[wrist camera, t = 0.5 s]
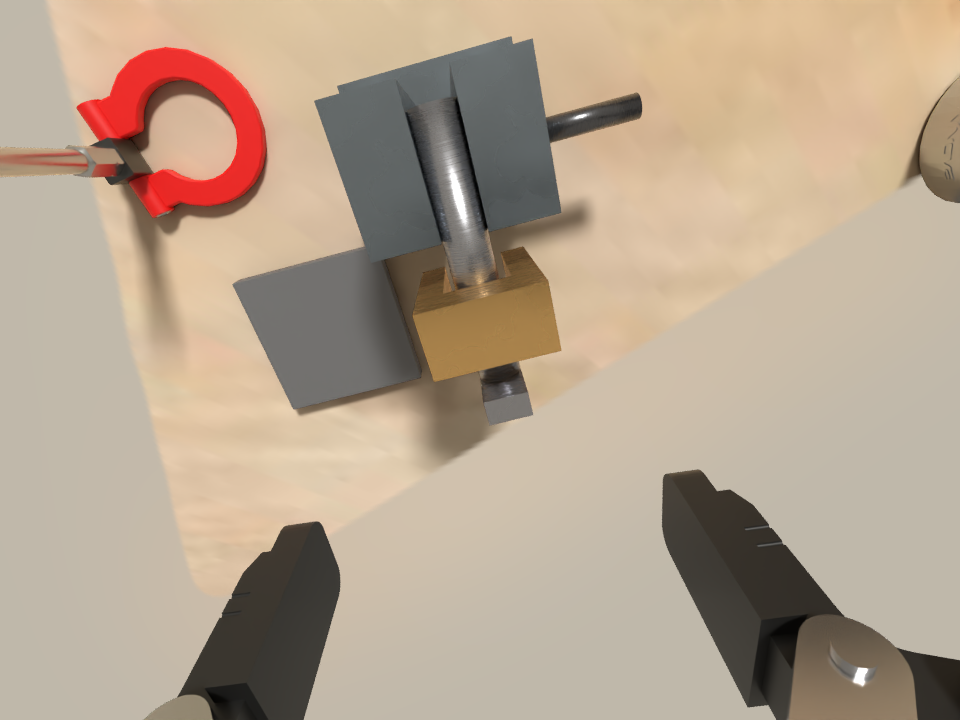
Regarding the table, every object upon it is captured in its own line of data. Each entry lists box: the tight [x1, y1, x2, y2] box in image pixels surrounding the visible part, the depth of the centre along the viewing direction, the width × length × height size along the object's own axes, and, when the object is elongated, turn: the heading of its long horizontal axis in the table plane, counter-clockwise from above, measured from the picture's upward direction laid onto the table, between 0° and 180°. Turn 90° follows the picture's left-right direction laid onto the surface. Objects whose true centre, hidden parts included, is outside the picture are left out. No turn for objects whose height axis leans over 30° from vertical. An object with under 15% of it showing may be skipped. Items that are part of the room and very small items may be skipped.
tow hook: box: [0, 47, 267, 218], centre depth 22 cm, size 8×13×9 cm
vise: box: [314, 37, 642, 425], centre depth 24 cm, size 15×16×14 cm
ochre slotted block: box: [412, 247, 561, 382], centre depth 21 cm, size 5×3×7 cm, turn 104°
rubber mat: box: [232, 247, 422, 409], centre depth 33 cm, size 10×10×1 cm
